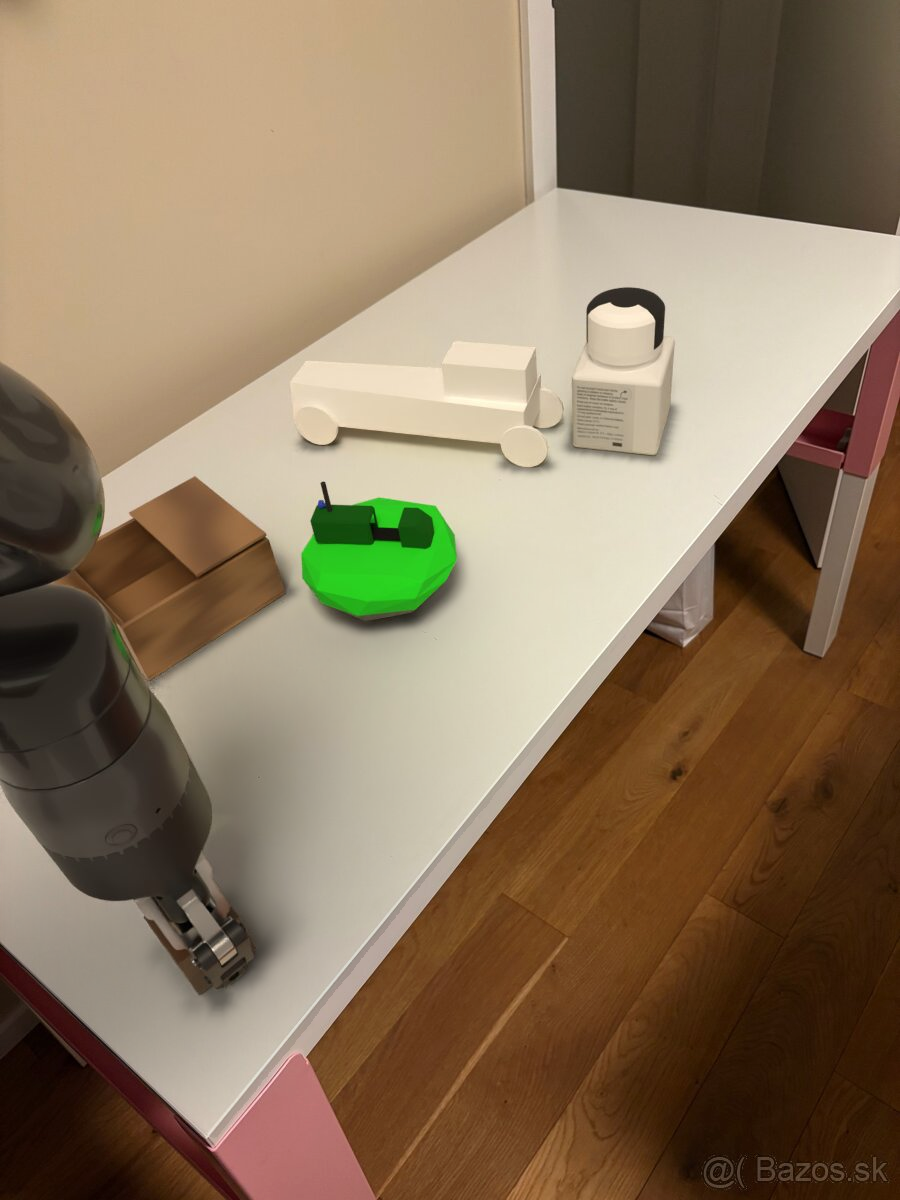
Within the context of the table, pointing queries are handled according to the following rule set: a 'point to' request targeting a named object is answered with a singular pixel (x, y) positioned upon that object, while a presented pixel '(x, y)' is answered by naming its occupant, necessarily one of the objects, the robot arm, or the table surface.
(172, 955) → the block
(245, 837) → the table surface
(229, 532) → the carton
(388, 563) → the green domed toy
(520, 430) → the toy truck
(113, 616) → the flap
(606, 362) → the container
